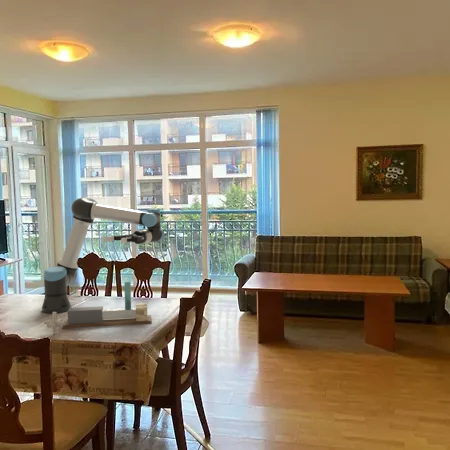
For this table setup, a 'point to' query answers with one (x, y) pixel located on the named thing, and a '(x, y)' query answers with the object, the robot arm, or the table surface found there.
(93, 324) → the base board
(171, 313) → the table surface
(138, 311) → the socket block
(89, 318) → the outer sleeve
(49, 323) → the pipe connector
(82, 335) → the table surface
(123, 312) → the bar with teal cylinder
